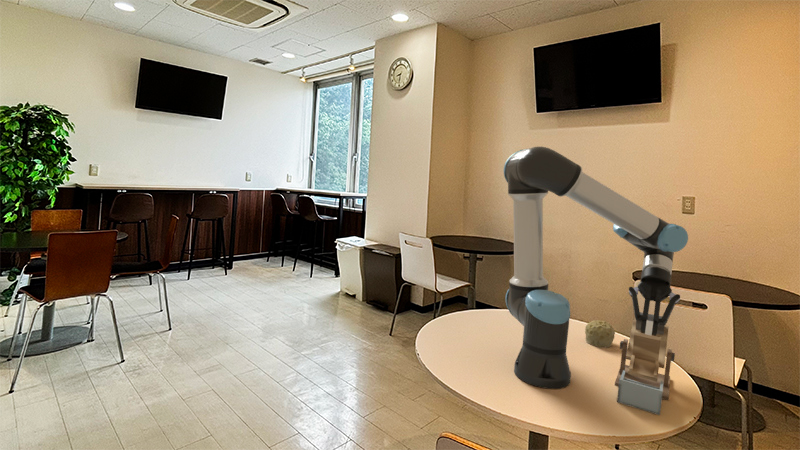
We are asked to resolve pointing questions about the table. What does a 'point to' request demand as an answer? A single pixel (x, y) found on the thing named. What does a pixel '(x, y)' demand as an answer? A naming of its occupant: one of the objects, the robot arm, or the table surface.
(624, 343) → the catapult stand
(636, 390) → the blue open box
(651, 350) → the lever
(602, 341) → the decorative item
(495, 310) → the table surface
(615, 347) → the table surface
